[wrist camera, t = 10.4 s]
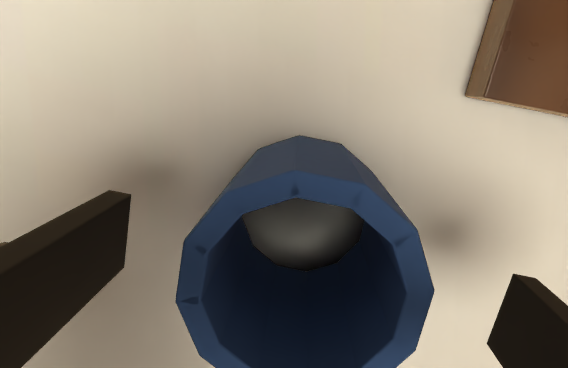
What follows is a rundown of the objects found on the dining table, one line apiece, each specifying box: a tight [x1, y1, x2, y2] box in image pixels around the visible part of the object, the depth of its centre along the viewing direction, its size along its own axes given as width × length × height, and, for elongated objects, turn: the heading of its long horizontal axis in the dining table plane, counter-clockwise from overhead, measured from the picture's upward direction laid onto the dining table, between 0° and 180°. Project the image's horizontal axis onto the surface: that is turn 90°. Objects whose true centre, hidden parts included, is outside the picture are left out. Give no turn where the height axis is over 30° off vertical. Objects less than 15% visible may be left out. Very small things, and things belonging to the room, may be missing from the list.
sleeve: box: [176, 136, 434, 368], centre depth 16 cm, size 8×8×8 cm
